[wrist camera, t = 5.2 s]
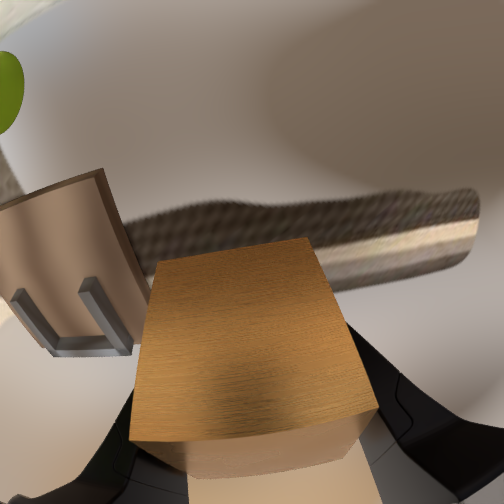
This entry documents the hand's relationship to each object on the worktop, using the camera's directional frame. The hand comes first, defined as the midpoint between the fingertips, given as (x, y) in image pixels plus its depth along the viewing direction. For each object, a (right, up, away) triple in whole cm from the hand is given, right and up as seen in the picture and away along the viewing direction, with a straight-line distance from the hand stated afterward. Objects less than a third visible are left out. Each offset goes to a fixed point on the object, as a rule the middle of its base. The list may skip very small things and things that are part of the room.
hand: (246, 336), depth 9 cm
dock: (-14, +1, +9) cm, 17 cm away
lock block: (0, +1, +1) cm, 2 cm away
